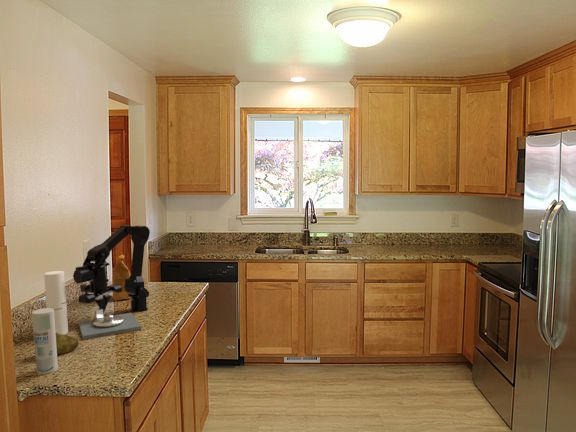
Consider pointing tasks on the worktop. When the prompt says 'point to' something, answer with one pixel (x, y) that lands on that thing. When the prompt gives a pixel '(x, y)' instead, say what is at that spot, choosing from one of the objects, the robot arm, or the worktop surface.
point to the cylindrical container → (57, 299)
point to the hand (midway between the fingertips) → (102, 312)
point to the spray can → (45, 340)
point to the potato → (65, 343)
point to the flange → (105, 319)
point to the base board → (93, 332)
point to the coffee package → (120, 279)
